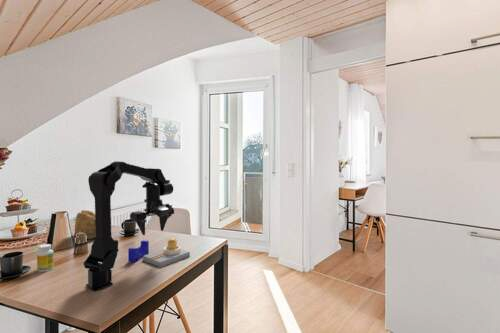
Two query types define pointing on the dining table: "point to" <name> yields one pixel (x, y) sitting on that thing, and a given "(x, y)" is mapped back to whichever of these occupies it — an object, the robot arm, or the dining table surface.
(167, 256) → the plate
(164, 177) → the robot arm
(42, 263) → the supplement bottle
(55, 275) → the dining table surface
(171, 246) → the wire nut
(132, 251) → the cable clip
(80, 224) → the rough brown rock
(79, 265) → the dining table surface
